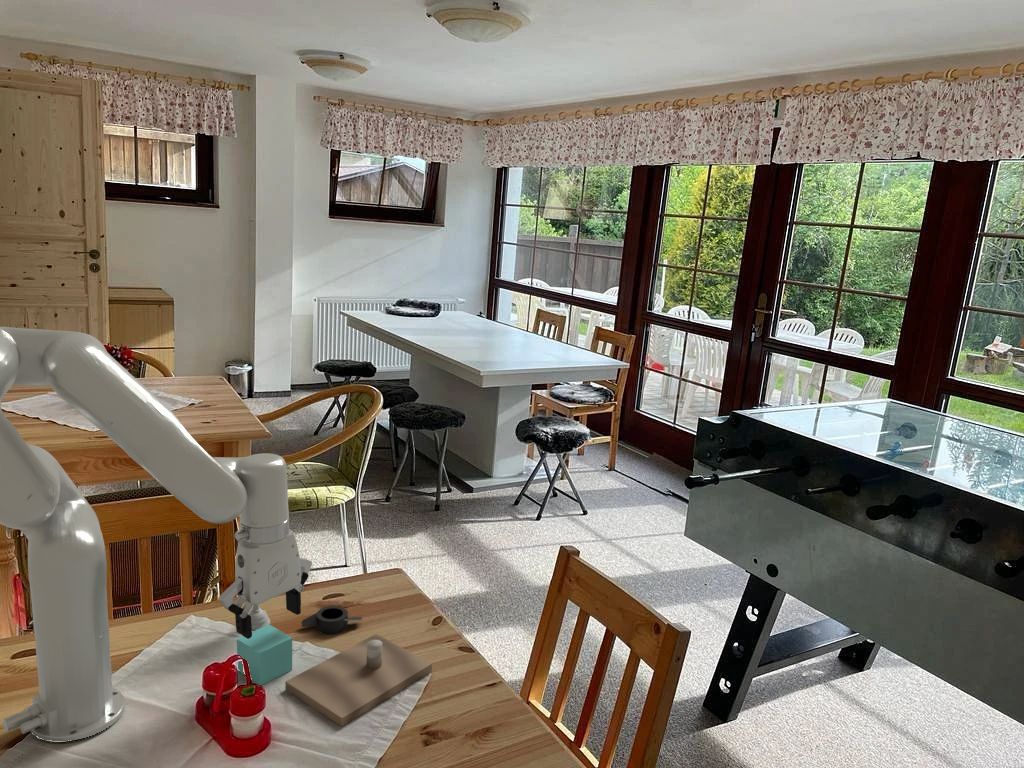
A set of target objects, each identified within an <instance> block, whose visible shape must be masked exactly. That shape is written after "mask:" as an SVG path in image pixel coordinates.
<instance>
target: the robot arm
mask: <svg viewBox="0 0 1024 768" xmlns="http://www.w3.org/2000/svg"><path fill="white" fill-rule="evenodd" d="M12 386H26V387H27V386H29V387H31V386H32V387H50V388H51V389H52V391H53V392H54V393H55V394H57V396H59V397H60V398H61V399H62V400H64V402H66V403H67V404H68V405H70V406H71V408H73V409H74V410H75V411H77V412H78V413H79V414H80V415H81V416H83V417H84V418H86V420H88V421H89V422H90V423H91V424H92V425H94V426H95V427H96V428H97V429H99V431H101V432H102V433H103V434H104V435H106V437H108V438H109V439H110V440H111V441H113V442H114V443H115V444H117V446H119V448H120V449H122V450H123V451H124V452H125V453H126V454H127V455H128V456H129V457H130V458H131V459H132V460H133V461H134V462H135V463H137V465H139V466H140V467H142V468H143V470H145V471H146V472H147V473H148V474H150V475H151V476H152V477H153V478H154V479H155V481H157V482H158V483H159V484H160V485H161V486H162V487H163V488H164V489H166V490H167V491H168V492H169V493H170V494H171V495H172V496H173V497H175V499H177V500H178V501H179V502H181V503H182V504H183V505H184V506H185V507H186V508H188V509H189V510H190V511H192V513H194V514H196V516H198V517H199V518H200V519H202V520H203V521H206V522H208V523H212V524H226V523H230V522H232V521H234V520H235V519H237V518H238V517H239V519H240V521H239V522H240V524H239V530H240V531H239V530H238V531H239V532H237V531H236V532H235V533H234V537H235V539H236V541H237V549H236V554H235V555H236V556H235V565H234V568H235V574H234V576H235V577H234V578H235V580H234V581H233V583H231V584H230V585H229V586H228V587H227V588H226V589H225V590H224V591H223V592H222V593H221V594H220V595H219V596H218V601H220V603H221V604H222V606H223V607H224V609H226V610H227V611H229V612H231V613H232V614H234V616H235V630H236V633H238V635H241V637H242V636H244V637H245V638H247V639H249V638H251V636H252V632H253V630H252V624H251V616H250V615H248V613H249V611H250V610H251V609H252V608H253V606H254V605H257V604H259V605H260V604H264V603H265V602H267V601H270V600H272V599H275V598H277V597H278V596H281V595H284V594H285V604H286V605H285V606H286V608H285V609H286V610H287V611H289V612H291V613H293V614H294V615H297V616H298V615H300V614H301V613H302V608H301V607H302V596H301V594H302V592H303V591H304V590H305V589H304V588H305V584H306V582H307V580H308V578H309V573H310V571H311V569H312V565H313V562H312V561H311V560H309V559H307V558H302V557H300V552H299V551H300V550H299V546H298V544H297V538H296V535H295V533H294V530H292V529H290V517H289V515H290V514H289V513H290V512H289V495H288V494H289V493H288V470H287V463H286V461H285V459H284V457H282V456H281V455H278V454H275V453H269V452H268V453H267V452H266V453H263V452H262V453H255V454H250V455H248V456H244V457H242V456H241V457H232V456H229V457H228V456H227V457H225V456H223V457H220V456H219V457H218V456H217V457H216V456H211V455H210V454H209V453H208V452H207V451H206V450H205V449H204V448H203V447H202V446H201V445H200V444H199V443H198V442H197V441H196V440H195V438H193V436H192V434H190V433H189V432H188V430H187V429H186V428H185V426H184V425H183V424H182V422H181V420H179V418H178V417H177V416H176V414H175V413H174V412H173V411H172V410H171V408H170V407H168V405H166V404H165V402H163V401H162V400H161V399H160V398H159V397H158V396H156V395H155V394H154V393H153V392H152V391H151V390H149V389H148V387H146V386H145V385H144V384H143V383H141V382H140V381H139V379H137V378H136V377H135V376H134V375H133V374H131V373H130V371H128V370H127V369H126V368H125V367H124V366H122V364H121V363H119V361H117V360H116V358H114V357H113V356H112V355H111V354H110V353H109V352H108V351H107V349H106V347H105V346H104V344H103V343H102V341H100V340H99V339H97V337H95V336H93V335H91V334H88V333H85V332H79V331H71V330H54V329H41V328H39V329H37V328H25V327H12V326H11V327H10V326H0V525H1V526H4V527H7V528H9V529H14V530H20V532H22V534H23V535H24V536H25V537H26V539H27V540H28V541H27V571H28V573H27V574H28V581H29V582H28V583H29V591H30V597H31V598H30V601H31V609H32V610H31V611H32V612H31V613H32V622H33V623H32V625H33V632H34V641H35V643H34V644H35V655H36V666H37V677H38V678H37V679H38V690H39V693H38V694H37V695H34V696H32V704H31V705H29V706H26V708H25V710H23V711H20V712H18V713H15V714H12V715H10V716H7V717H6V718H3V719H2V727H3V728H4V731H5V732H6V733H7V732H8V733H9V732H11V731H13V730H15V729H17V728H19V729H20V732H21V733H22V734H23V735H24V734H26V733H28V732H30V733H31V732H32V733H33V734H34V735H35V736H38V737H39V738H42V739H44V740H52V741H68V740H69V741H70V740H76V739H81V738H85V739H87V738H86V737H88V738H90V737H89V736H91V737H93V736H92V735H94V736H96V735H97V734H96V733H98V734H100V733H102V732H103V730H104V731H105V730H106V728H107V729H108V728H110V727H111V726H112V725H114V724H115V723H117V722H118V720H119V719H120V718H119V717H121V716H122V715H123V713H124V711H125V697H124V695H123V694H122V692H120V690H118V689H116V688H113V678H112V663H111V662H112V660H111V659H112V658H111V644H110V642H111V641H110V628H109V627H110V626H109V624H110V623H109V612H108V611H109V610H108V596H107V595H108V594H107V593H108V592H107V591H108V590H107V585H108V584H107V575H108V574H107V572H108V571H107V567H108V566H107V563H108V562H107V554H106V553H107V552H106V546H105V540H104V538H103V533H102V530H101V525H100V521H99V518H98V516H97V513H96V512H95V510H94V509H93V507H92V506H91V504H90V503H89V502H88V500H87V499H86V498H85V497H84V495H83V494H82V492H80V490H79V488H78V487H77V486H76V484H75V483H74V481H73V480H72V478H70V476H69V475H68V473H67V472H66V471H65V470H64V468H63V467H62V466H61V464H60V463H59V462H58V460H57V459H56V458H55V457H54V456H53V455H52V454H51V453H50V452H49V451H47V450H46V449H44V448H42V447H41V446H37V445H35V444H30V443H27V442H26V441H25V440H24V438H23V437H22V436H21V434H20V432H19V431H18V430H17V428H16V426H14V424H13V422H11V421H10V419H9V418H7V416H6V415H5V413H4V411H3V408H2V401H3V398H4V396H5V395H6V393H8V391H10V389H11V387H12ZM239 540H240V541H239ZM238 541H239V542H238ZM235 596H237V598H236V599H235V602H234V601H233V599H234V597H235ZM121 714H122V715H121ZM109 726H110V727H109ZM101 731H102V732H101ZM99 732H100V733H99ZM32 733H31V734H32ZM95 734H96V735H95ZM35 736H34V737H35Z"/></svg>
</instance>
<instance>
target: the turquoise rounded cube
mask: <svg viewBox="0 0 1024 768" xmlns="http://www.w3.org/2000/svg"><path fill="white" fill-rule="evenodd" d="M237 655H240V656H241V657H242V658H244V659H245V660H246V661H247V662H248V664H249V669H250V675H251V678H252V680H251V681H252V682H254V683H255V684H257V685H258V684H259V685H261V686H263V685H265V684H266V683H268V682H270V681H272V680H274V679H276V678H279V677H280V676H282V675H285V674H286V673H288V672H291V671H292V670H293V637H292V636H289V635H288V634H286V633H285V632H283V631H282V630H280V629H278V628H276V627H275V626H273V625H271V623H270V624H269V625H267V626H264V627H262V628H260V629H258V630H252V636H251V638H249V639H247V638H245V637H244V636H242V635H241V636H239V637H238V638H236V656H237ZM238 669H239V670H240V672H241V673H240V672H239V673H240V674H241V675H243V676H245V675H244V672H243V664H242V661H239V662H238ZM259 685H258V686H259Z"/></svg>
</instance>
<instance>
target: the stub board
mask: <svg viewBox="0 0 1024 768" xmlns="http://www.w3.org/2000/svg"><path fill="white" fill-rule="evenodd" d="M432 669H433V663H432V662H429V661H428V660H427V659H424V658H422V657H421V656H419V655H416V654H415V653H413V652H411V651H409V650H407V649H405V648H404V647H401V646H399V645H398V644H396V643H394V642H392V641H391V640H388V639H387V638H385V637H383V636H381V635H379V634H377V633H376V634H373V635H372V636H369V637H368V638H366V639H364V640H362V641H359V642H358V643H357V644H354V645H353V646H351V647H348V648H347V649H344V650H343V651H340V652H339V653H336V654H335V655H333V656H331V657H329V658H327V659H325V660H324V661H322V662H320V663H318V664H315V665H313V666H312V667H310V668H308V669H307V670H304V671H303V672H301V673H299V674H297V675H295V676H293V677H291V678H289V679H287V680H285V682H284V683H285V687H284V689H285V690H286V691H287V692H288V693H290V694H292V695H294V696H295V697H296V698H298V699H299V700H301V701H302V702H303V703H305V704H307V705H308V706H309V707H311V708H313V709H314V710H316V711H317V712H319V713H321V714H322V715H324V716H325V717H327V718H328V719H330V720H331V721H333V722H334V723H335V724H337V725H339V726H340V727H344V726H346V725H347V724H348V723H350V722H352V721H354V720H355V719H357V718H358V717H360V716H362V715H363V714H366V713H367V712H369V711H370V710H371V709H373V708H375V707H377V706H378V705H380V704H381V703H383V702H385V701H386V700H387V699H389V698H390V697H391V698H392V697H393V696H394V695H396V694H398V693H399V692H400V691H403V689H406V688H407V687H409V686H411V684H414V683H415V682H417V681H419V680H420V679H422V678H423V677H425V676H427V675H428V674H430V673H432V672H433V671H432Z"/></svg>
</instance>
